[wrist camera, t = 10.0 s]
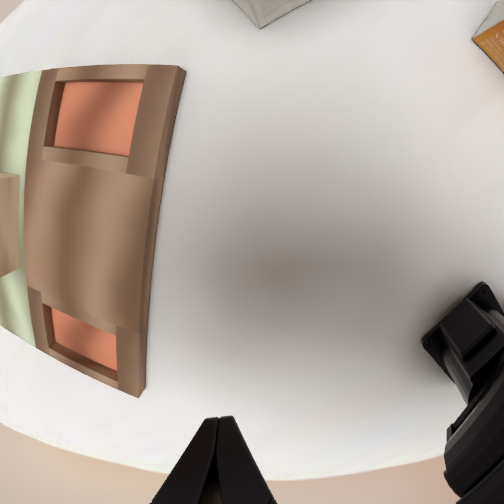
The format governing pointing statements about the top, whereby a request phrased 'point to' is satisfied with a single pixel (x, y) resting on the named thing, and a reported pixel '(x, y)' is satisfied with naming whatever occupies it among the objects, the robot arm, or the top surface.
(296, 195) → the top surface
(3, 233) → the birch block
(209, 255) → the top surface
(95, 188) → the lane board
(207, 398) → the top surface
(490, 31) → the small box
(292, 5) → the supplement box
